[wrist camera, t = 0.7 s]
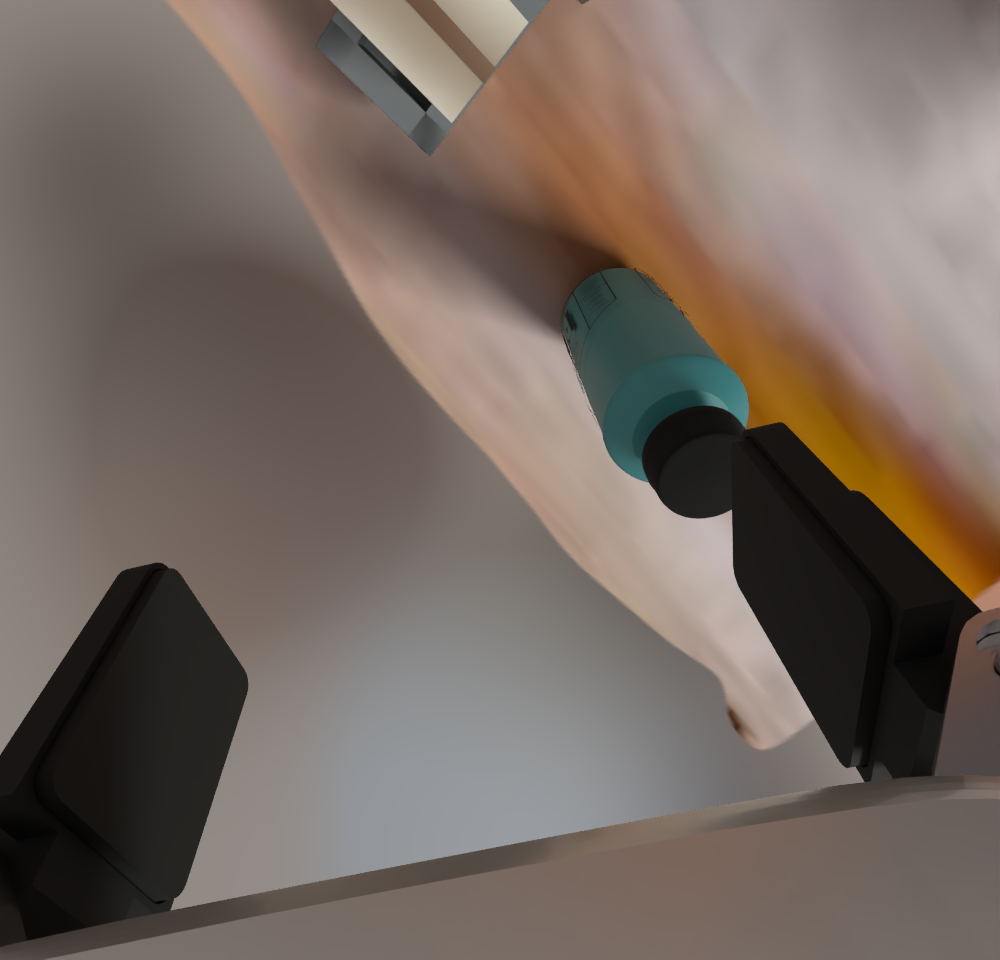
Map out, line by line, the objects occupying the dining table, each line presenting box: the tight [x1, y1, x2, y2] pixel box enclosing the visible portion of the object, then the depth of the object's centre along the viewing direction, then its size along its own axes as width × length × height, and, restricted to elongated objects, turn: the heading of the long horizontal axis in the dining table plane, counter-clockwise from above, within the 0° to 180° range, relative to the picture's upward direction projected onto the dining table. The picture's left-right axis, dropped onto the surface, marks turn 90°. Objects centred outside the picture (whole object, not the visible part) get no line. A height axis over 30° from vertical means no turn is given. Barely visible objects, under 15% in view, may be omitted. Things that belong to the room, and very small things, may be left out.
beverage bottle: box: [561, 268, 749, 518], centre depth 31 cm, size 6×7×20 cm
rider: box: [330, 0, 529, 123], centre depth 24 cm, size 4×6×7 cm
